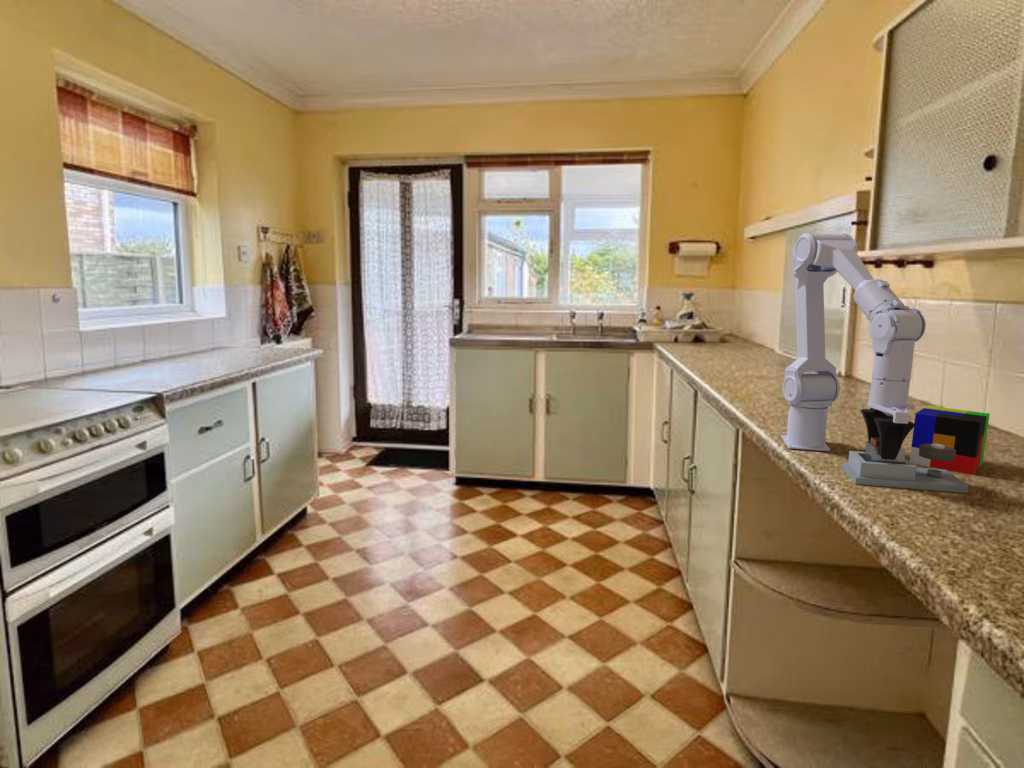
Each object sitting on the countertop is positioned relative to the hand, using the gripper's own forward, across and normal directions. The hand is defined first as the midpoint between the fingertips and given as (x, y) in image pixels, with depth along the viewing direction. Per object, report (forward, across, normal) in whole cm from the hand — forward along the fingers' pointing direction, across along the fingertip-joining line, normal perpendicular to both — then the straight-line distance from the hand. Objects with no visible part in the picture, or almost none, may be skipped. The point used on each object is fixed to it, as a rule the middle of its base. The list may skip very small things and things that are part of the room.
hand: (882, 453), depth 108 cm
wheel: (0, 0, -9) cm, 9 cm away
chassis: (+5, 0, -4) cm, 6 cm away
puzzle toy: (+5, +14, -16) cm, 21 cm away
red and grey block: (+3, 0, 0) cm, 3 cm away
